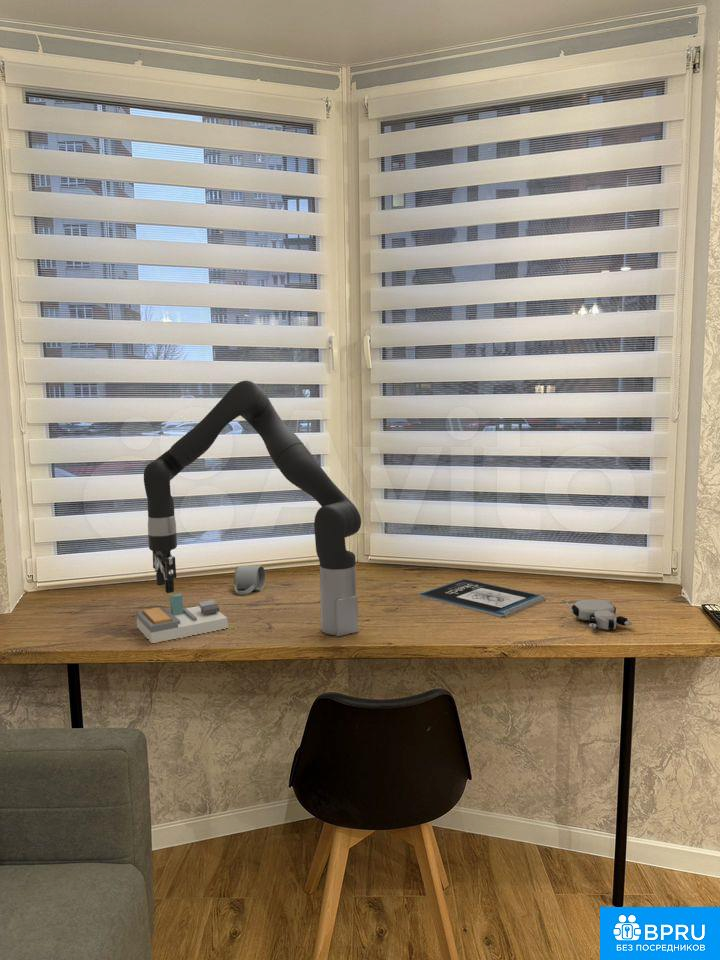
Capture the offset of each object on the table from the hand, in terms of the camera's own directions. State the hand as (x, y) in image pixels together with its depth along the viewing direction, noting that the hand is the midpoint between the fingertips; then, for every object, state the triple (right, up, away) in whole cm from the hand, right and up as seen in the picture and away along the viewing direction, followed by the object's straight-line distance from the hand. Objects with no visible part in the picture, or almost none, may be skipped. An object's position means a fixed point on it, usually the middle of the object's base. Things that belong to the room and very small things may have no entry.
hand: (165, 588), depth 204 cm
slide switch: (+5, -5, -8) cm, 11 cm away
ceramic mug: (+20, -4, +22) cm, 30 cm away
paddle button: (+2, -6, -15) cm, 16 cm away
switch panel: (+7, -9, -11) cm, 16 cm away
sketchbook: (+90, -5, +10) cm, 91 cm away
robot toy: (+117, -7, -13) cm, 118 cm away
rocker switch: (+14, -4, -8) cm, 16 cm away
